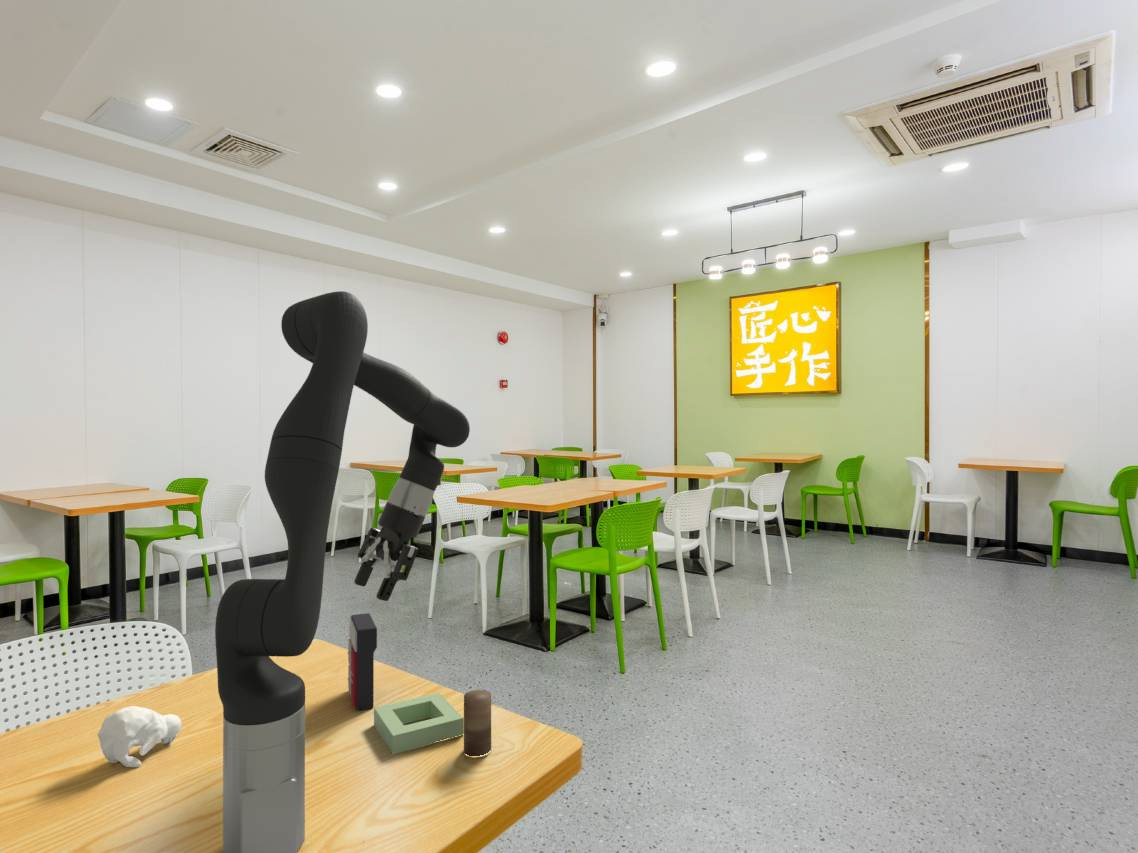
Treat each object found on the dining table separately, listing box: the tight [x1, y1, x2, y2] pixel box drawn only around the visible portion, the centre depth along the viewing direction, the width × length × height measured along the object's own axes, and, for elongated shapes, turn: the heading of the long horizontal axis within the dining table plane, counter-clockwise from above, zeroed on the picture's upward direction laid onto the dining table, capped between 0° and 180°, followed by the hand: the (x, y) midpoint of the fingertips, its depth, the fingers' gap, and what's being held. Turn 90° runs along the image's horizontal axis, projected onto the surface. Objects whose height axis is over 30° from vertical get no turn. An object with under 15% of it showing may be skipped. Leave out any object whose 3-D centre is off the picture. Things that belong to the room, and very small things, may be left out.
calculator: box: [347, 612, 378, 711], centre depth 122 cm, size 11×4×15 cm, turn 25°
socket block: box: [373, 692, 464, 755], centre depth 109 cm, size 12×12×3 cm
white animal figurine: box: [97, 705, 182, 768], centre depth 101 cm, size 6×8×12 cm
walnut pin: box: [463, 689, 492, 756], centre depth 102 cm, size 4×4×9 cm
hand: (370, 592), depth 113 cm, fingers open, 8 cm apart
